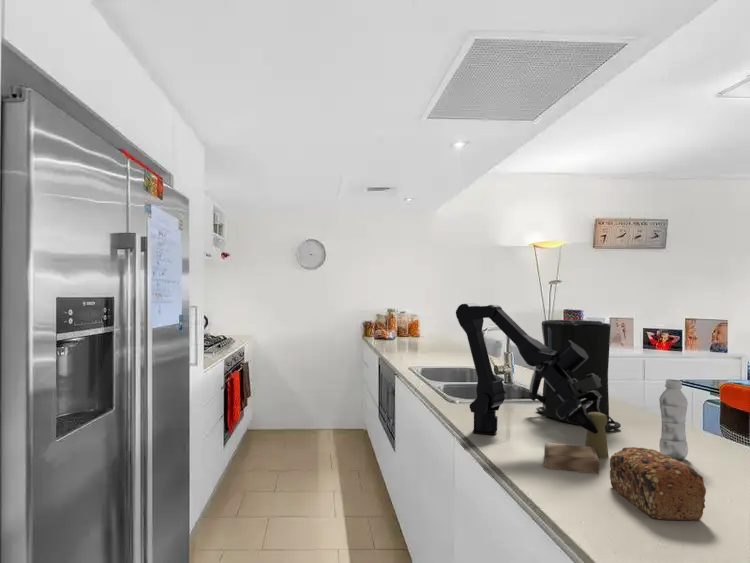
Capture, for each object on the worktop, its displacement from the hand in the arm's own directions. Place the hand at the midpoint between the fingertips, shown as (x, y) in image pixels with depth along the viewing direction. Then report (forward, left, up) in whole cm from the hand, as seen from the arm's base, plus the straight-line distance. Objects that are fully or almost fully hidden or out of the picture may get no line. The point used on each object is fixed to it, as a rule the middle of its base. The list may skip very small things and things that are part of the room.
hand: (601, 430), depth 141 cm
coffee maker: (-5, +43, -7) cm, 43 cm away
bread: (+6, -31, -7) cm, 33 cm away
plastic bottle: (+18, +5, -7) cm, 20 cm away
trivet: (-8, -9, -7) cm, 14 cm away
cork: (-1, +1, -7) cm, 7 cm away
